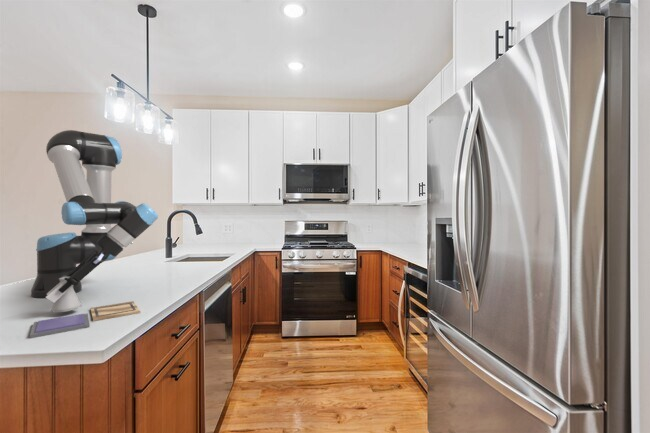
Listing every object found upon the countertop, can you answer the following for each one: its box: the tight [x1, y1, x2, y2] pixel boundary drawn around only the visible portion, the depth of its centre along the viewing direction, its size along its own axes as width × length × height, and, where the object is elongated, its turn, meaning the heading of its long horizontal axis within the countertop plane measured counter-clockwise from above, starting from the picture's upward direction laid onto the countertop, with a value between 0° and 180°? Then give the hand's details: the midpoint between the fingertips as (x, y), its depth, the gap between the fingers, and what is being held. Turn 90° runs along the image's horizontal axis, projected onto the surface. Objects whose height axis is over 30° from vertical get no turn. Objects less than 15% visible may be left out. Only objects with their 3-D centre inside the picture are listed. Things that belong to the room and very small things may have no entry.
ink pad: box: [29, 313, 91, 339], centre depth 86 cm, size 12×12×1 cm
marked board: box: [90, 300, 141, 322], centre depth 99 cm, size 14×12×1 cm
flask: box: [50, 277, 83, 313], centre depth 97 cm, size 7×7×10 cm
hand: (50, 298), depth 95 cm, fingers closed on flask, 3 cm apart
